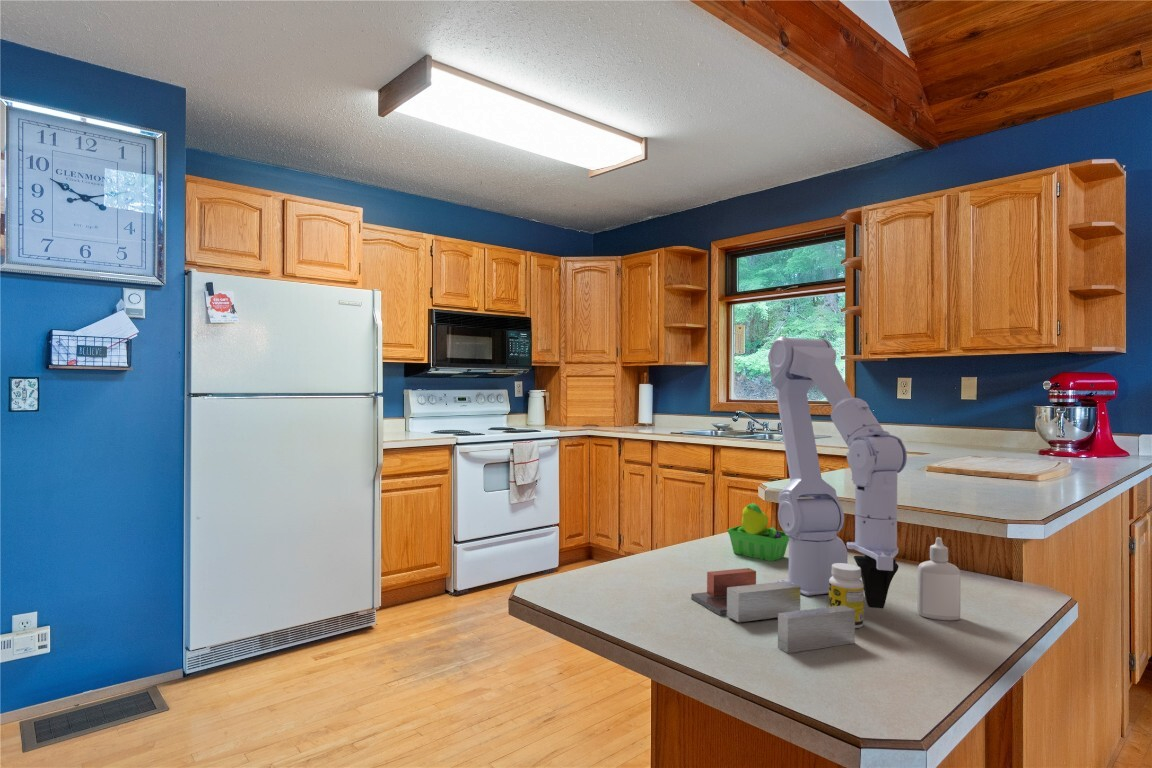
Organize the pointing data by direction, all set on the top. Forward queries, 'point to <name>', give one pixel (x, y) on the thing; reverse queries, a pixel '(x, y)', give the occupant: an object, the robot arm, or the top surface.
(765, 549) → the fruit basket
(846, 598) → the supplement bottle
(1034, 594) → the top surface
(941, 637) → the top surface
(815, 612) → the bar
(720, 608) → the base
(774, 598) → the sliding jaw
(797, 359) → the robot arm
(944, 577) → the eye dropper bottle
